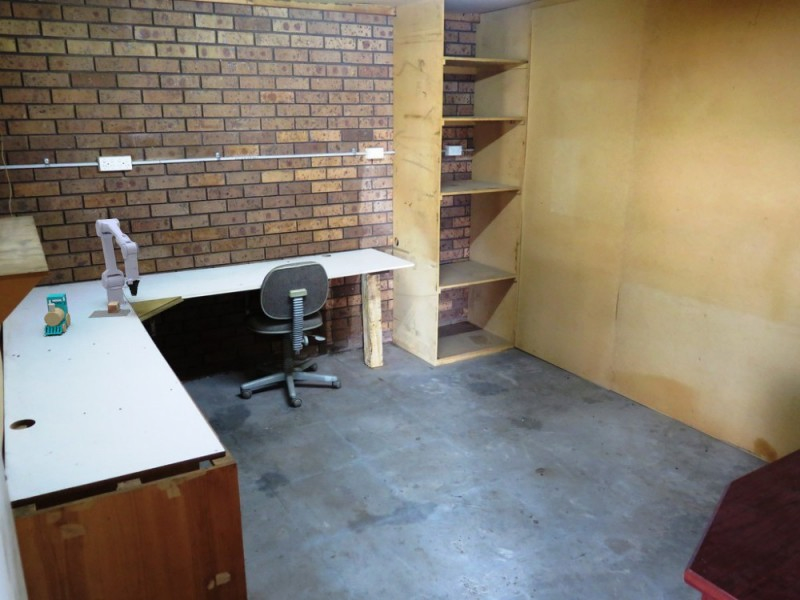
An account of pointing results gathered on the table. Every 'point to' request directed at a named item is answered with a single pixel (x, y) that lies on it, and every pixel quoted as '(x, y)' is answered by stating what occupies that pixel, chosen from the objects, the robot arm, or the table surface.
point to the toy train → (57, 314)
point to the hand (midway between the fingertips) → (134, 295)
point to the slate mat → (105, 313)
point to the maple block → (113, 307)
